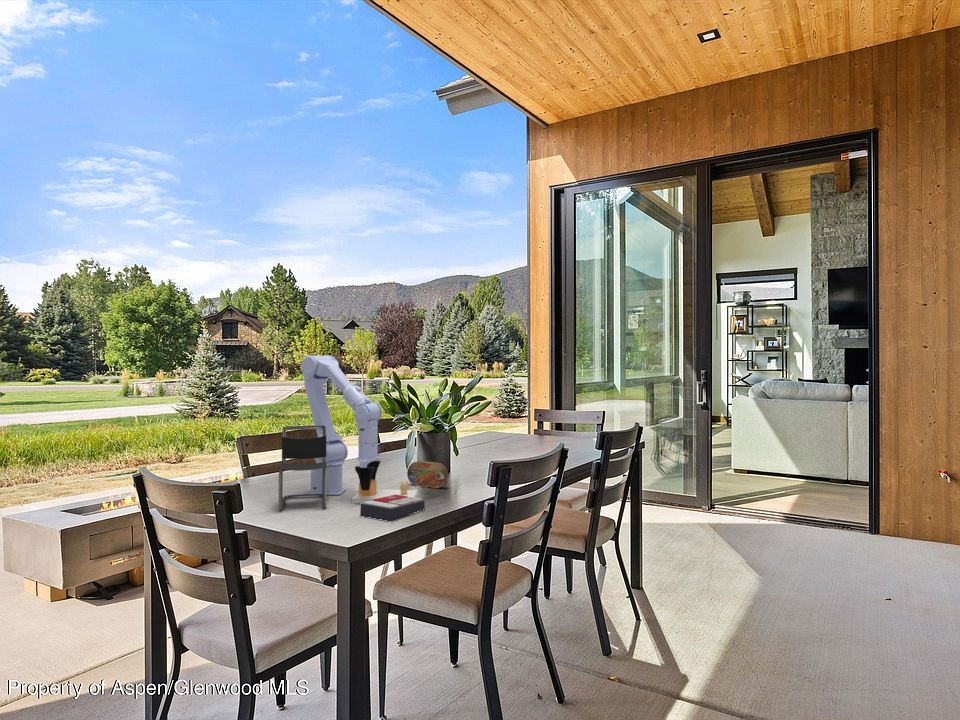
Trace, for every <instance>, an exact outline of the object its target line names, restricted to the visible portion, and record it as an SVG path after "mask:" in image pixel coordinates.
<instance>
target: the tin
mask: <svg viewBox="0 0 960 720" xmlns="http://www.w3.org/2000/svg"><path fill="white" fill-rule="evenodd" d="M406 474H407V478H408V479H407V480H408V482H409V483H410V484H411V485H412V486H414V485H415V486H414V487H417V486H423V487H422V488H426V487H431V488H430V489H434V488H437V489H440V488H442V487H444V486H445V485H446V484H447V483H448V480H449V471H448V468H447V466H445V464H443V463H441V462H432V461H422V460H421V461H413V462H412V463H410V465H408V467H407V472H406Z"/></svg>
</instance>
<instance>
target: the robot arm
mask: <svg viewBox="0 0 960 720" xmlns="http://www.w3.org/2000/svg"><path fill="white" fill-rule="evenodd" d="M339 365H340V364H339V361H338V360H337V359H336V358H335V357H334V356H333V355H330V354H329V355H311V354H308V355H306V356H305V357H304V359H303V361H302V363H301V365H300V368H301V373H302V376H303V382H304V388H305V392H306V397H307V399H308V403H309V407H310V408H309V409H310V411H311V415H312V419H313V423H314V426H326V435H327V436H326V465H327V470H326V496H340V495H341V494H343V492H345V491H346V490H347V488H345V487H343V464H344V463H345V460H347V458H348V452H349V451H348V450H349V449H348V447H347V445H346V444H345V442H344V440H343V439H344V438H343V437H342V435H339V434H338V433H337V432H336V431H335V427H334V423H333V421H332V416H331V412H330V409H329V404H328V401H327V398H326V395H325V394H326V393H325V390H324V385H325V383H327V382H328V380H331V381H332V382H333V384H334V385H335V386H336V387H337V388H338V389H339V390H340V391H341V392H343V393H342V394H343V395H342V398H343V399H344V401H345V402H346V403H347V405H348V406H349V407H350V408H351V410H353V411H354V413H353V416H354V419H355V421H356V426H357V429H358V456H357V461H358V462H359V465H356V466H355V467H354V469H355V472H356V474H357V476H358V480H359V483H360V485H361V489H362V490H369V488H370V483H371V479H374V480H376V477H377V474H378V473H377V472H378V469H379V466H380V464H381V460H382V459H383V457H382V456H379V454H378V453H379V452H378V451H379V450H378V449H379V448H378V447H379V446H378V437H379V436H378V435H379V434H378V432H379V431H378V430H379V429H378V422H379V420H380V419H381V417H382V412H383V411H382V407H381V406H380V403H378V402H377V401H372V400H371V399H370V398H369V397H368V396H367V395H366V394H365V393H364V392H363V391H362V390H363V389H362V387H361V386H358V385H352V383H351V382H350V381H349V379H348V378H347V376H346V375H345V373H344V372H343V371H342V370H341V368H340V366H339ZM315 432H316V434H317V438H318V437H323V429H315ZM313 459H314V461H315V462H314V463H315V464H316V463H321V462H323V457H321V458H313ZM309 494H322V468H321V469H314V470H310V493H309Z"/></svg>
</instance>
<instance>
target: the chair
mask: <svg viewBox="0 0 960 720" xmlns="http://www.w3.org/2000/svg"><path fill="white" fill-rule="evenodd" d="M316 429H323V437H318V436H317V437H313V438H290V437H287V431H292V430H293V431H294V430H295V431H297V430H299V431H301V430H316ZM326 436H327V435H326V426H315V425H298V426H297V425H294V426H293V425H291V426H283V427H282V429H281V465H280V468H279V470H278V510H279V511H282V510H283V509H284V507H285V503H286V501H287V500H290V498H292V499H303V498H302V497H311V498H321V497H322V501H321V505H322V506H321V507H322V509H325V508H326V507H327V495H326V470H327V465H326ZM321 457H323V462H321V463H316V462H315V463H308V464H291V463H287V462H286V460H305V459H306V460H308V459H314V458H321ZM321 468H322V494H310V493H302V494H301V493H300V494H290V495H284V494H283V491H284V490H283V488H284V487H283V485H284V484H283V483H284V481H283V480H284V478H283V476H284V471H294V472H296V471H304V472H305V471H311V470H314V469H321ZM283 495H284V496H283Z"/></svg>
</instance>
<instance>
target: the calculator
mask: <svg viewBox="0 0 960 720" xmlns="http://www.w3.org/2000/svg"><path fill="white" fill-rule="evenodd" d="M425 502H426V501H425V500H424V499H423V498H420V497H416V498H415V497H408V496H402V495H391V496H387V497H382V498H378V499H373V501H367V502H363V503H362V504H360V509H359V510H360V511H359V512H360V514H359V515H360V517H361V516H364V517H363V518H366V517H371V518H370V519H372V518H376V519H375V520H377V519H382V520H387V521H393V520H395V521H397V520H396V519H398V520H400V519H399V518H401V519H402V518H404V516H405V517H408V516H410V515H409V514H412V513H414V512H417V511H420V510H423V509H424V510H425V507H426V506H425V505H426V503H425ZM424 510H423V511H424ZM407 515H408V516H407ZM412 515H413V514H412ZM382 520H381V521H382ZM387 521H386V522H387ZM393 522H394V521H393Z"/></svg>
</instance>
